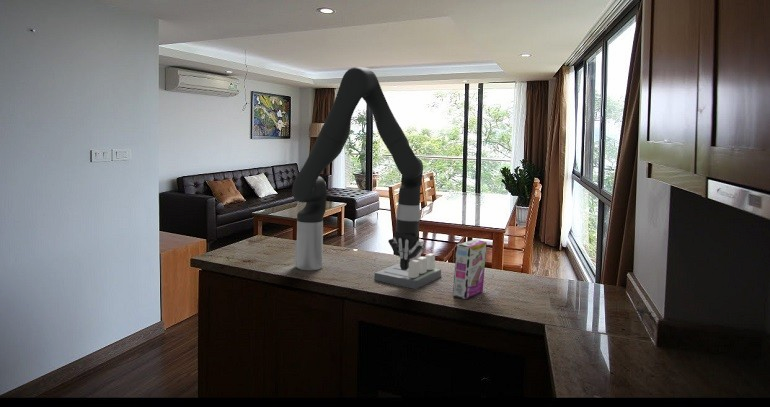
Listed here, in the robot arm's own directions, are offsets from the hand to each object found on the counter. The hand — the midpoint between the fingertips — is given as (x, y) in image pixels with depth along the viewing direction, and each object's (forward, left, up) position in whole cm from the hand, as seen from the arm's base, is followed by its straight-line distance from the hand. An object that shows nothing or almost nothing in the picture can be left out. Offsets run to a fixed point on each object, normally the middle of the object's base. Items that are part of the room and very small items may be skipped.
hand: (404, 269), depth 155 cm
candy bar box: (+22, +3, -5) cm, 22 cm away
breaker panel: (-2, +6, -5) cm, 8 cm away
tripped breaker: (+3, 0, -2) cm, 4 cm away
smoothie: (-9, +23, -5) cm, 25 cm away
